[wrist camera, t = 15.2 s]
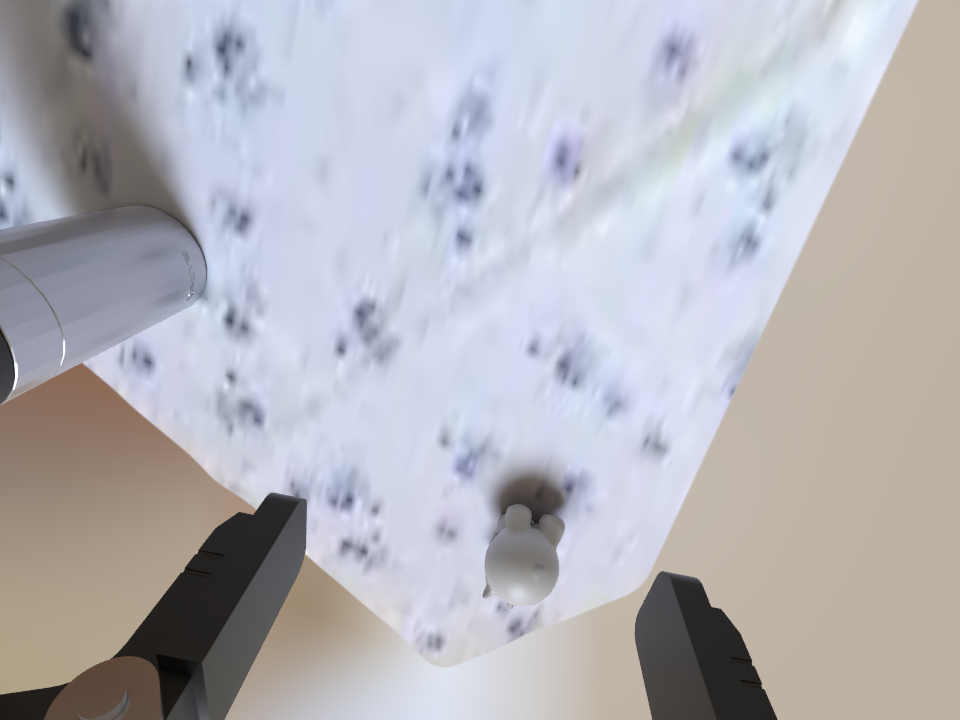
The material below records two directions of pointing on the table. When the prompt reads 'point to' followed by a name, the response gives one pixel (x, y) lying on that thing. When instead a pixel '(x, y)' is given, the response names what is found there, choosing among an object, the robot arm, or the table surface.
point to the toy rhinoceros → (523, 557)
